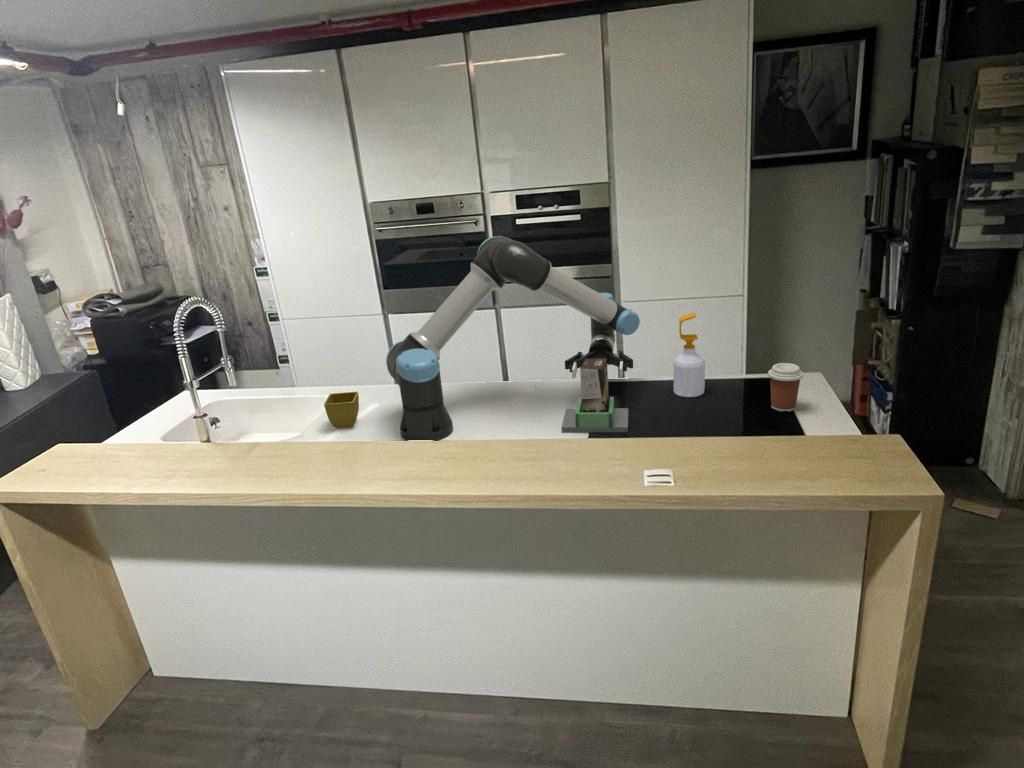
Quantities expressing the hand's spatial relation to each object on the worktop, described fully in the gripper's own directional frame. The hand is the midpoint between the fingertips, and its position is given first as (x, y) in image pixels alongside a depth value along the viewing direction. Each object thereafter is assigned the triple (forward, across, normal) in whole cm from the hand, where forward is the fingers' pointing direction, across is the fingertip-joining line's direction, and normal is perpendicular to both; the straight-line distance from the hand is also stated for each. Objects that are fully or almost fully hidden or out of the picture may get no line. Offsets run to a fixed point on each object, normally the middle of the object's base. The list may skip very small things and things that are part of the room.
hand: (597, 373), depth 194 cm
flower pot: (+10, +75, -12) cm, 77 cm away
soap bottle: (-14, -26, -12) cm, 32 cm away
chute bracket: (+8, 0, -12) cm, 14 cm away
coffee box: (+8, 0, -10) cm, 13 cm away
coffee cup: (-2, -52, -12) cm, 53 cm away
